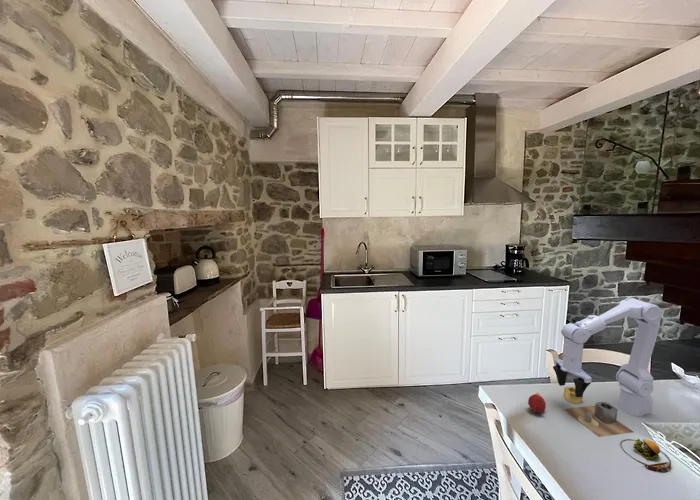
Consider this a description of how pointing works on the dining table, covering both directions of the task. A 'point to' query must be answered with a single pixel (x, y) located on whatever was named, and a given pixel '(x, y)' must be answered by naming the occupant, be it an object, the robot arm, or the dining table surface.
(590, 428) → the gear board
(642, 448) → the burger
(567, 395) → the yellow porous cube
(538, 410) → the red christmas ornament
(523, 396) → the dining table surface
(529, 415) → the dining table surface
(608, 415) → the grey stone pot
